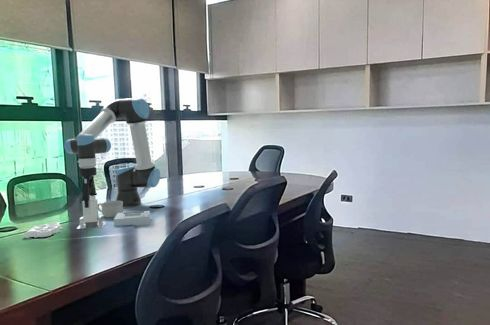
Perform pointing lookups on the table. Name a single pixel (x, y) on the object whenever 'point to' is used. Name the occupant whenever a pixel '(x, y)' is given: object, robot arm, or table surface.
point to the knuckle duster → (43, 230)
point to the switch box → (132, 218)
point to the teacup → (111, 208)
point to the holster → (82, 225)
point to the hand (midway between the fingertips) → (90, 211)
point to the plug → (93, 217)
